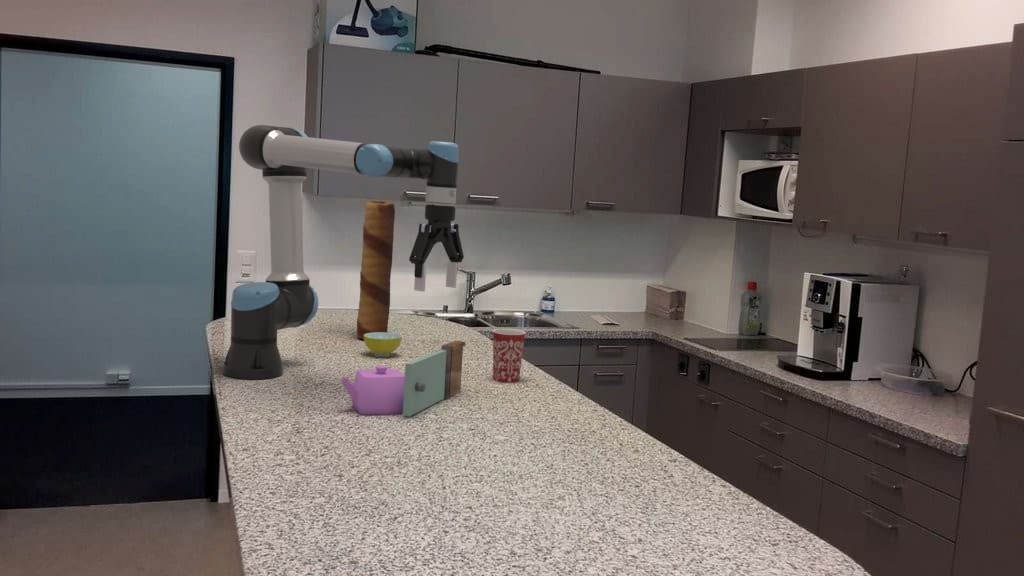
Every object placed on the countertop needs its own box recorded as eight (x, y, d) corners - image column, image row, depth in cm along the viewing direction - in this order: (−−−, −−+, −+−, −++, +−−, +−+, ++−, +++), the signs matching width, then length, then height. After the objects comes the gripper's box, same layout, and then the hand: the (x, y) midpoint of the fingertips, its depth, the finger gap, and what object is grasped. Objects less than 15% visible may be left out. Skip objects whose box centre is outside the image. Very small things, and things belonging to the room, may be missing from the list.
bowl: (355, 356, 273) (356, 335, 272) (375, 350, 284) (376, 330, 283) (388, 361, 269) (389, 340, 268) (407, 355, 280) (408, 335, 279)
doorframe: (436, 398, 227) (439, 346, 226) (452, 390, 237) (455, 340, 235) (446, 400, 226) (449, 347, 225) (462, 392, 236) (465, 341, 234)
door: (438, 397, 227) (440, 349, 225) (449, 399, 226) (452, 351, 224) (402, 415, 208) (405, 363, 206) (415, 417, 207) (418, 365, 205)
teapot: (344, 417, 205) (345, 372, 204) (334, 405, 215) (336, 362, 214) (421, 414, 212) (424, 370, 211) (409, 402, 222) (411, 360, 220)
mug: (526, 383, 250) (529, 334, 249) (493, 383, 248) (496, 333, 247) (515, 373, 263) (518, 326, 261) (484, 373, 260) (487, 325, 259)
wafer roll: (395, 339, 304) (402, 202, 299) (374, 343, 296) (380, 202, 290) (371, 335, 310) (377, 200, 305) (350, 338, 301) (356, 200, 296)
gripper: (423, 205, 218) (418, 294, 220) (480, 206, 239) (475, 287, 241) (397, 202, 221) (393, 290, 224) (456, 203, 243) (451, 284, 245)
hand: (435, 289), depth 233 cm, fingers open, 13 cm apart
